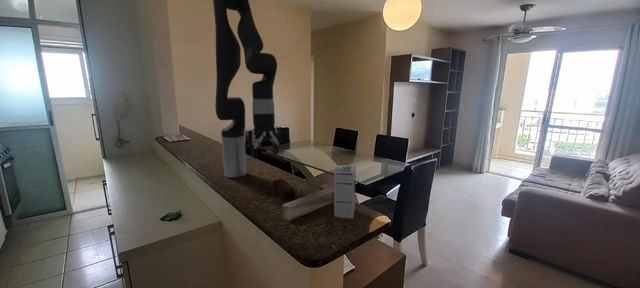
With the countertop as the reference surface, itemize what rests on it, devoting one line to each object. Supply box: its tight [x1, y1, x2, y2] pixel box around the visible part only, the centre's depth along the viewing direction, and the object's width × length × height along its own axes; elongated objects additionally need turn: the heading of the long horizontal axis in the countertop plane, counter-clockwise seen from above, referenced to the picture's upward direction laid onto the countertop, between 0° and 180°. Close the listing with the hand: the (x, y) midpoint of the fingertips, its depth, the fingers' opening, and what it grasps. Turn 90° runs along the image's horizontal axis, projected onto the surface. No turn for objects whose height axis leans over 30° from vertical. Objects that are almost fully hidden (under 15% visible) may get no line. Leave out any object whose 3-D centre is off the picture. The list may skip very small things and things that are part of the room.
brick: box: [272, 178, 296, 203], centre depth 93 cm, size 11×4×5 cm, turn 31°
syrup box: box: [333, 164, 356, 220], centre depth 79 cm, size 6×6×14 cm
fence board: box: [281, 188, 333, 222], centre depth 82 cm, size 3×18×4 cm, turn 135°
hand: (265, 156), depth 96 cm, fingers open, 8 cm apart
